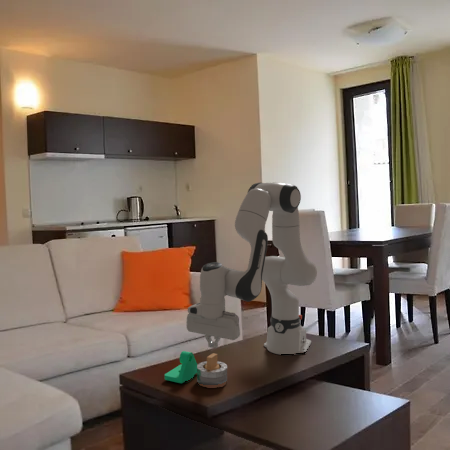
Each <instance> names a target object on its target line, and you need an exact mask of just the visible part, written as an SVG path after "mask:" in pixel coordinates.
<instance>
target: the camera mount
mask: <svg viewBox="0 0 450 450" xmlns="http://www.w3.org/2000/svg"><path fill="white" fill-rule="evenodd" d="M179 363H180V364H178V366H176V367H174V368H173V369H171V370H169V371H168V372H166V373H164V380H165V381H170V382H174V383H178V384H183V383H186V382H185V381H188V380H190V379H191V378H192V379H194V378H195V375H197V365H198V363H197V360H196V358H195V355H194V353H193V352H191V351H185V350H183V351H181V352H180V355H179ZM193 377H194V378H193ZM192 379H191V380H192ZM191 380H190V381H191ZM188 382H189V381H188Z"/></svg>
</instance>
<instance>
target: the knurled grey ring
mask: <svg viewBox="0 0 450 450" xmlns="http://www.w3.org/2000/svg"><path fill="white" fill-rule="evenodd" d="M205 365H207V360H206V361H202V362H199V363H197V373H196V383H197V382H198V383H199V384H203V385H218V384H222V383H224V382H226V381H227V382H228V365H227V364H226V363H225V362H223V361H219V360H218V365H219V369H217V370H207V369H205Z"/></svg>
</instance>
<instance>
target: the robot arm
mask: <svg viewBox="0 0 450 450" xmlns="http://www.w3.org/2000/svg"><path fill="white" fill-rule="evenodd" d="M301 198H302V195H301V191H300V189H299V187H298V186H296V185H295V184H292V183H283V182H276V181H275V182H256V183H253V184H251V186H250V187H249V189H247V193H246V194H245V196H244V199H243V200H242V202H241V205H240V206H239V209H238V212H237V215H236V217H235V221H234V229H235V231H236V233H237V234H238V235H239V236H240V238H242V239H243V240H245V241H246V242H248V243H249V244H250V255H249V261H248V264H247V268H246V270H244V271H243V270H237V269H235V268H229V267H226V266H224V265H223V263H221V262H218V261H217V262H216V261H214V262H208V263H205V264H204V265H203V266H202V267H201V270H200V275H199V292H200V299H199V302H198V303H195V304H193V305H190V306H189V307H187V313H188V314H187V315H186V330H187V331H188V333H189V332H190V333H193V334H194V333H195V334H198V335H199V334H200V335H204V337H205V340H206V342H207V346H208V348H211V349H212V348H213V349H217V348H218V346H219V341H220V340H221V339H225V340H231V341H235V340H237V339H239V338H240V336H241V329H240V317H239V316H238V315H237V314H236V313H235V312H230V311H226V298H225V297H226V296H228V297H232V298H236V299H239V300H241V301H244V302H247V303H248V302H252V301H254V300H255V299H257V297H259V295H260V294H261V293H262V287H263V284H262V283H264V285H266V287H267V289H268V291H269V293H270V298H271V315H270V326H268V327H267V334H266V342H264V343H263V347H265V348H266V349H267V351H268V352H270V353H273V354H276V355H281V354H294V353H300V352H306V351H307V352H308V350H309V349H310V347H311V344H312V340H311V339H308V338H307V331H306V329H305V328H304V327H303V326H302V324H301V320H302V319H303V315H302V314H300V313H299V312H300V301H299V297H298V296H297V295H296V294H295V293H294V292H293V291H291V290H290V287H289V286H288V285H290V286H297V287H303V286H304V287H305V286H306V287H307V286H311V285H312V284H314V282H315V281H316V278H317V275H318V269H317V267H316V265H315V263H314V262H313V261H312V260H311V259H309V257H308V256H307V254H306V253H305V252H304V249H303V247H302V244H301V232H300V229H301V228H300V225H301V224H300V214H299V205H300V203H301ZM270 211H271V212H272V216H271V234H272V235H271V236H272V238H271V239H272V244H273V246H274V247H276V248H277V249H278V250H279V251H281V253H282V254H283V256H277V255H270V256H267V251H268V244H269V238H268V236H269V235H268V234H267V233H266V224H267V220H268V217H269V213H270ZM212 337H213V338H214V339H213V340H212ZM309 346H310V347H309ZM307 349H308V350H307ZM307 352H306V353H307ZM294 355H295V354H294Z"/></svg>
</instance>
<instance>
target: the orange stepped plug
mask: <svg viewBox="0 0 450 450" xmlns="http://www.w3.org/2000/svg"><path fill="white" fill-rule="evenodd" d="M218 359H219V358H218V353H214V352H213V353H211V354H210V355H208V356H206V361H207V365H205V369H207V370H217V369H219V365H218V361H219V360H218Z"/></svg>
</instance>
